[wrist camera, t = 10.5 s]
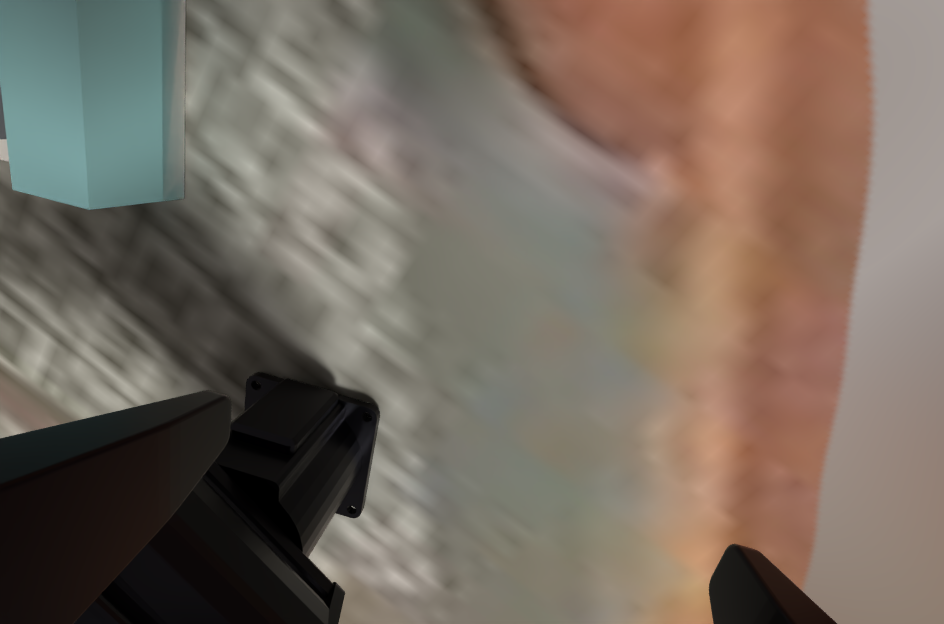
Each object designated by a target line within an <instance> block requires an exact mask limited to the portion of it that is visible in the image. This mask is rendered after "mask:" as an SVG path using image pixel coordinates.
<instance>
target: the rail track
mask: <svg viewBox="0 0 944 624" xmlns="http://www.w3.org/2000/svg"><path fill="white" fill-rule="evenodd" d="M185 21H186V0H0V85H1V94H2V103H3V111H4V120H5V129H6V138H7V139H0V160H4V161H8V162H9V164H10V173H11V181H12V190H16V191H19V192H23V193H27V194H31V195H35V196H38V197H42V198H46V199H50V200H54V201H57V202H61V203H65V204H69V205H73V206H76V207H80V208H84V209H88V210H92V209H100V208H109V207H118V206H127V205H135V204H144V203H153V202H161V201H170V200H179V199H184V157H185Z"/></svg>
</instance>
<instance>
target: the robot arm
mask: <svg viewBox="0 0 944 624" xmlns="http://www.w3.org/2000/svg"><path fill="white" fill-rule="evenodd" d="M256 381H258V382H259V383H260V384H261V386H259V385H258V384H257V382H256ZM365 412H368V413H369V414H370V415H371V416H372V418H369V417H367V416H366V415H365ZM379 418H380V411H379V409H378V408H377V407H376V406H375V405H373V404H370V403H367V402H363V401H360V400H356V399H353V398H349V397H346V396H342V395H339V394H336V393H335V392H333V391H330V390H326V389H323V388H319V387H316V386H312V385H309V384H305V383H302V382H298V381H295V380H291V379H283V378H279V377H276V376H272V375H269V374H265V373H262V372H257V373H254V374H253V375H252V376H250V377H249V378H248V379H247V382H246V397H245V411H244V412H243V413H242V414H241V415H240V416H238V417H237V418H236V419H235V420H234V421H232V422H231V399H230V398H229V397H228V396H227V395H224V394H220V393H217V392H214V391H209V390H206V391H202V392H197V393H193V394H189V395H184V396H180V397H176V398H172V399H167V400H163V401H159V402H154V403H150V404H146V405H142V406H137V407H133V408H129V409H124V410H120V411H116V412H112V413H107V414H103V415H99V416H95V417H90V418H86V419H82V420H77V421H73V422H69V423H65V424H60V425H56V426H52V427H47V428H43V429H39V430H35V431H30V432H26V433H22V434H17V435H13V436H9V437H5V438H0V624H338V622H339V618H340V613H341V609H342V604H343V600H344V595H345V591H344V590H343V589H342V588H341V587H340V586H339V585H338V584H337V583H336V582H333V583H332V582H331V581H330V580H329V579H328V578H327V577H326V576H325V575H324V574H323V573H322V572H321V571H320V570H319V569H318V567H317V566H316V565H315V564H314V563H313V562H312V561H311V560H310V559H309V558H308V557H309V555H310V553H311V552H312V550H313V549H314V547H315V545H316V544H317V542H318V540H319V539H320V537H321V535H322V534H323V532H324V531H325V529H326V527H327V526H328V524H329V522H330V521H331V519H332V518H333V516H334V514H335V513H337V514H340V515H343V516H347V517H350V518H357V517H359V516H360V514H361V512H362V511H363V508H364V505H365V499H366V493H367V487H368V482H369V476H370V470H371V464H372V459H373V453H374V447H375V441H376V436H377V430H378V424H379ZM351 506H353V507H355V508H356V509H355V508H352V507H351ZM709 596H710V603H711V610H712V616H713V623H714V624H837V623H836V622H835V621H834V620H833V619H832V618H830V617H829V616H828V615H827V614H826V613H825V612H824V611H823V610H822V609H821V608H819V606H818V605H816V604H815V603H814V602H813V601H812V600H811V599H810V598H809V597H808V596H807V595H806V594H805V593H804V592H803V591H801V590H800V589H799V588H798V587H797V586H796V585H795V584H794V583H793V582H792V581H791V580H790V579H789V578H787V577H786V576H785V575H784V574H783V573H782V572H781V571H780V570H779V569H778V568H777V567H776V566H775V565H773V564H772V563H771V562H770V561H769V560H768V559H767V558H766V557H765V556H764V555H763V554H762V553H760V552H759V551H757V550H755V549H752V548H748V547H745V546H741V545H738V544H732V545H730V546H728V547H727V549H726V550H725V552H724V554H723V556H722V558H721V560H720V562H719V564H718V566H717V567H716V569H715V571H714V573H713V575H712V577H711V580H710V584H709Z"/></svg>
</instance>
